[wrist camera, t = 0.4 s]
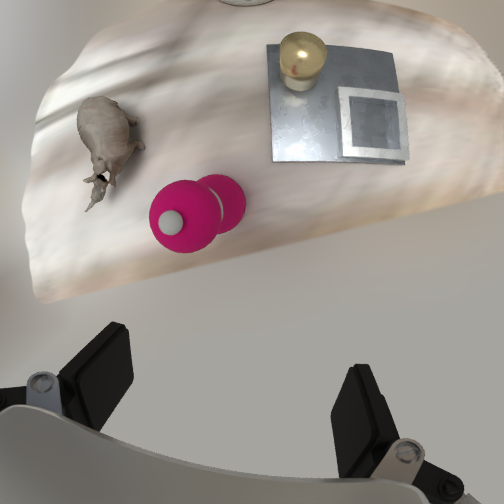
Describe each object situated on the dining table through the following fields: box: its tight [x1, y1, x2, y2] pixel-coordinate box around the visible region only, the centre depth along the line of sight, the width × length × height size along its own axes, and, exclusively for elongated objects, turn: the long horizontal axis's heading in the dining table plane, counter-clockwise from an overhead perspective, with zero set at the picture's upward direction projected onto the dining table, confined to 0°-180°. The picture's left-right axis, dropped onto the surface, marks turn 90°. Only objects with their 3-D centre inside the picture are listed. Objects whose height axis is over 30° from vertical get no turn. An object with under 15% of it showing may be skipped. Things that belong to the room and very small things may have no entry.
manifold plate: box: [267, 44, 409, 165], centre depth 31 cm, size 17×18×4 cm
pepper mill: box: [149, 174, 246, 253], centre depth 28 cm, size 7×7×20 cm
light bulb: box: [280, 32, 327, 91], centre depth 27 cm, size 5×5×8 cm
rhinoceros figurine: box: [77, 96, 145, 212], centre depth 33 cm, size 8×14×15 cm
